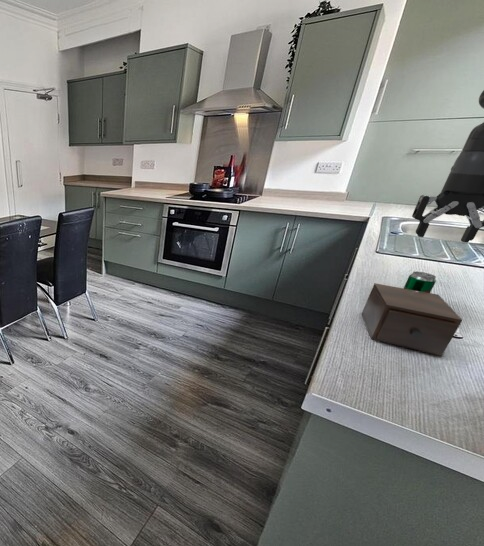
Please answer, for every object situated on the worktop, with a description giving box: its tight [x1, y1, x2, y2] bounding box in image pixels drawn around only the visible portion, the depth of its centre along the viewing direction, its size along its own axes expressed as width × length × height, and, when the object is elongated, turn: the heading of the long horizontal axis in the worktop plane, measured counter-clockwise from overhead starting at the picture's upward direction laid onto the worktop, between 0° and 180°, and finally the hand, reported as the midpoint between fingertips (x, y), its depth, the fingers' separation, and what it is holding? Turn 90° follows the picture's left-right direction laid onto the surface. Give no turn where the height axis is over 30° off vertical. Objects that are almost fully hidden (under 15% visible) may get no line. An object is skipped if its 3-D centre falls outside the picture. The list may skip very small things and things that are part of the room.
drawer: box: [376, 309, 459, 356], centre depth 75 cm, size 15×11×8 cm
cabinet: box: [361, 282, 463, 357], centre depth 77 cm, size 15×12×10 cm
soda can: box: [403, 271, 437, 293], centre depth 85 cm, size 5×5×12 cm
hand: (441, 239), depth 79 cm, fingers open, 7 cm apart
